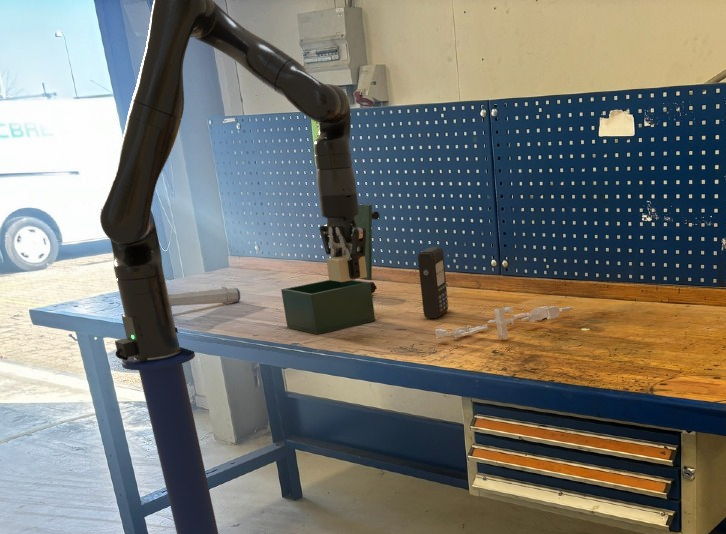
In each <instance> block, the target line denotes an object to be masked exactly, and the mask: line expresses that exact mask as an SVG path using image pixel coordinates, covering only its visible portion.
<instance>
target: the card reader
mask: <svg viewBox="0 0 726 534" xmlns="http://www.w3.org/2000/svg"><path fill="white" fill-rule="evenodd" d="M444 256H445V255H444V250H443V248H442V247H441V246H431V247H427V248H426V249H424V250H422V251H420V252H419V253H418V255H417V263H418V272H419V273H418V274H419V283H420V292H421V301H422V311H423V315H424V317H425V319H438V318H440V317H441V316H442V315H443V314H445V313H446V312H447V311H448V309H449V303H448V302H449V299H448V297H449V296H448V291H447V280H446V268H445V257H444Z"/></svg>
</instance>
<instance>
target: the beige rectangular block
mask: <svg viewBox="0 0 726 534" xmlns="http://www.w3.org/2000/svg"><path fill="white" fill-rule="evenodd" d="M325 260H326V266H327V268H326V269H327V276H328V280H332V281H338V282H344V281H350V280H361V279H360V278H365V277H367V272H366V263H365V256H364V257H361V258H360V259H359V267H360V277H359V278H356V279H351V278H350V277H349V269H348V261H349V260H348V259H347V255H345V256H339V257H334V258H331V257H328V258H325Z"/></svg>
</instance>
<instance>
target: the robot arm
mask: <svg viewBox="0 0 726 534" xmlns="http://www.w3.org/2000/svg"><path fill="white" fill-rule="evenodd" d="M151 8H152V9H151V14H150V15H151V16H150V22H149V30H148V36H147V41H146V47H145V51H144V55H143V58H142V62H141V66H140V70H139V73H138V78H137V82H136V85H135V88H134V92H133V95H132V100H131V102H130V106H129V110H128V113H127V117H126V122H125V127H124V132H123V137H122V140H121V141H122V142H121V147H120V153H119V160H118V165H117V169H116V173H115V176H114V178H113V181H112V184H111V187H110V189H109V190H108V191H109V192H108V193H107V197H106V199H105V201H104V204H103V206H102V208H101V211H100V215H99V221H100V226H101V229H102V231H103V232H104V235H106V237H107V238H108V239H109V240H110V245H111V247H112V248H111V249H112V254H113V270H114V275H115V279H116V283H117V288H118V293H119V296H120V300H121V305H122V309H123V313H124V314H122V315H121V320H122V324H123V325H122V326H123V328H124V333H125V337H126V338H121V339H117V340H114V344H115V348H116V351H115V357H116V358H118V360H119V359H120V360H128V357H130V356H131V359H133V360H136V361H139V362H141V363H144V362H150V361H159V360H165V359H169V358H172V357H175V356H177V355H179V354H181V349H180V347H181V346H180V342H179V337H178V334H179V331H178V327H176V324H175V320H174V314H173V310H172V309H171V305H170V300H169V296H168V294H169V292H168V287H167V281H166V277H165V273H164V272H165V271H164V268H163V257H162V250H161V246H160V241H159V235H158V230H157V225H156V221H155V217H154V216H155V215H154V213H153V211H152V206H153V200H154V196H155V191H156V186H157V183H158V181H159V178H160V176H161V173H162V172H163V170H164V167H165V166H166V163H167V162H168V160H169V157H170V155H171V153H172V150H173V148H174V145H175V143H176V140H177V136H178V133H179V131H180V130H179V129H180V126H181V123H182V119H183V116H184V115H183V114H184V108H185V89H184V73H183V71H184V61H185V56H186V51H187V48H188V45H189V42H190V39H191V38H192V39H194V40H196V41H198V42H201V43H203V44H205V45H207V46H209V47H211V48H214V49H216V50H217V51H219V52H221V53H223V54H224V55H226V56H228V57H229V58H231V60H233V61H235V62H236V63H237V64H238V65H239V66H241V67H242V68H243V69H244V70H246V71H247V73H249V74H250V75H251V76H253V77H254V78H255V79H257V80H258V81H260V83H262V84H264V85H265V86H267V87H268V88H270V89H271V90H273V91H274V92H276V93H277V94H279V95H281V96H282V97H283V98H285V99H286V100H287V101H288V102H289V103H290V104H291V105H292V106H293V107H294V108H295V109H297V111H299V112H300V113H301V114H302V115H304V116H305V117H307V118H308V119H310V120H312V121H313V122H316V123H318V137H317V138H316V139H315V140H314V143H313V152H314V161H315V168H316V186H317V193H318V202H319V207H320V215H321V217H322V218H324V219H326V224H324V225H320V226H319V227H318V230H319V233H320V237H321V240H322V244H323V248H324V251H325V254H326V255H327V256H330V258H334V257H339V256H344V250H345V252H346V255H347V259H348V260H349V261H348V269H349V277H350V278H351V279H355V280H357V279H356V278H359V277H360V267H359V259H360V258H361V257H364V256H365V244H366V229H365V228H359V227H357V225H356V222H355V219H354V217H355V216H356V215H358V213H359V210H358V205H359V202H358V194H357V193H358V191H357V186H356V184H357V183H356V178H355V172H354V170H353V163H352V154H351V147H350V138H351V127H352V126H351V125H352V110H351V105H350V100H349V97H348V95H347V93H346V92H345V90H344V89H343V88H342V87H340V86H338V85H336V84H328V83H324V82H322V81H320V80H318V79H316V78H315V77H313V76H312V75H311V74H309V73H308V72H307V69H306V68H305V67H304V65H302V64H301V63H300V62H299V61H298V60H296V59H295V58H293V57H292V56H290V55H289V54H287V53H285V52H284V51H283V50H281V49H280V48H278V47H277V46H275V45H274V44H272V43H270V42H269V41H267V40H265V39H263V38H262V37H260V36H258V35H256V34H255V33H253V32H251V31H249V30H248V29H246V28H245V27H244V26H242V25H241V24H240V23H238V22H237V21H236V20H234V19H233V18H232V17H231V16H230V15H229V14H228V13H226V12H225V11H224V10H223V8H221V6H220V5H218V4H217V3H216V2H215V1H214V0H153V4H152V7H151ZM349 243H352V244H349ZM359 246H360V251H359V250H358V247H359ZM338 248H339V250H338ZM350 249H352V254H351V251H350Z"/></svg>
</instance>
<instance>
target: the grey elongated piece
mask: <svg viewBox="0 0 726 534" xmlns="http://www.w3.org/2000/svg"><path fill="white" fill-rule="evenodd" d="M573 310H574V308H573V306H568V307H561V308H559V307H558V306H556V305H552V306H549V305H545V306H541V307H535V308H532V309H531V310H530V312H523V313H522V312H521V313H518V314H513V312H514V308H513V307H512V306H506V307H505V306H504V307H500V308H494V309H493V311H494V313H493V314H494V319H489V320H488V321H487V323H488V324H484V325H478V326H476V327H472V325H471V324H470V325H466V326H461V327H456V328H455V327H453V328H452V331H450V332H449V330H448V329H443V328H442V327H440V328H436V329H434V332H435V333H434V334H435V338H436V340H439V339H443V338H444V337H450V336H453V338H454V339H455V340H457V338H460V337H464V336H468V335H473V334H476V333H478V332H484V331H488V330H489V324H495V325H496V331H497V338H498V339H497V340H498V341H501V340H503V339H504V340H507V339H509V333H508V332H509V331H508V326H507V325H509V324H511V326H514V325H515V320H517V319H521V322H525V321H528V322H529V323H535V322H536V321H542V320H543V319H546V320H548V321H550V320H554V319H557V318H559V316H560V314H561V312H568V311H573ZM506 314H513V315H510V318H508V319H506Z"/></svg>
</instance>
